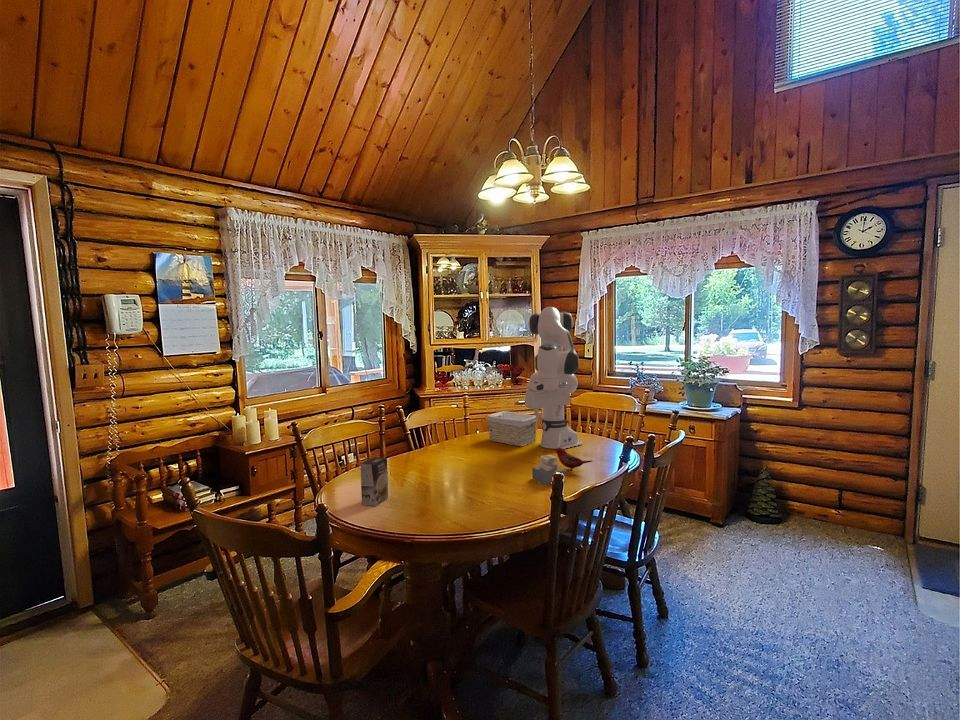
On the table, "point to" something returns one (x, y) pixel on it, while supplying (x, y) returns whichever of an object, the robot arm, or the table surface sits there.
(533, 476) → the grey block
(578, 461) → the decorative bird figurine
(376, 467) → the coffee box
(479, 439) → the table surface
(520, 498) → the table surface
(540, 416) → the robot arm
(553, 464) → the cream cube
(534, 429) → the storage basket
